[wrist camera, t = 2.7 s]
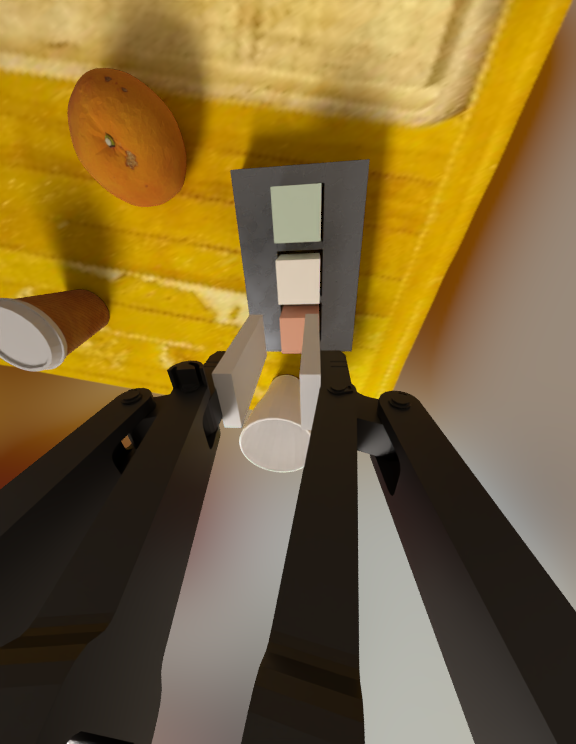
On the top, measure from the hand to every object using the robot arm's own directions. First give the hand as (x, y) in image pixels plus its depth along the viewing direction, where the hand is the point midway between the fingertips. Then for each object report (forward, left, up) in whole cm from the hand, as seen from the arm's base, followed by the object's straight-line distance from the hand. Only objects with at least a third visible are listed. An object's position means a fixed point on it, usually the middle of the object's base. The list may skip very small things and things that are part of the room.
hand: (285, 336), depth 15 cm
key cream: (0, 0, -19) cm, 19 cm away
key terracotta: (+6, 0, -19) cm, 20 cm away
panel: (0, 0, -23) cm, 23 cm away
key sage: (-6, 0, -19) cm, 20 cm away
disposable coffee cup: (+5, -34, -23) cm, 41 cm away
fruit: (-13, -17, -23) cm, 31 cm away
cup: (+20, -3, -23) cm, 30 cm away
